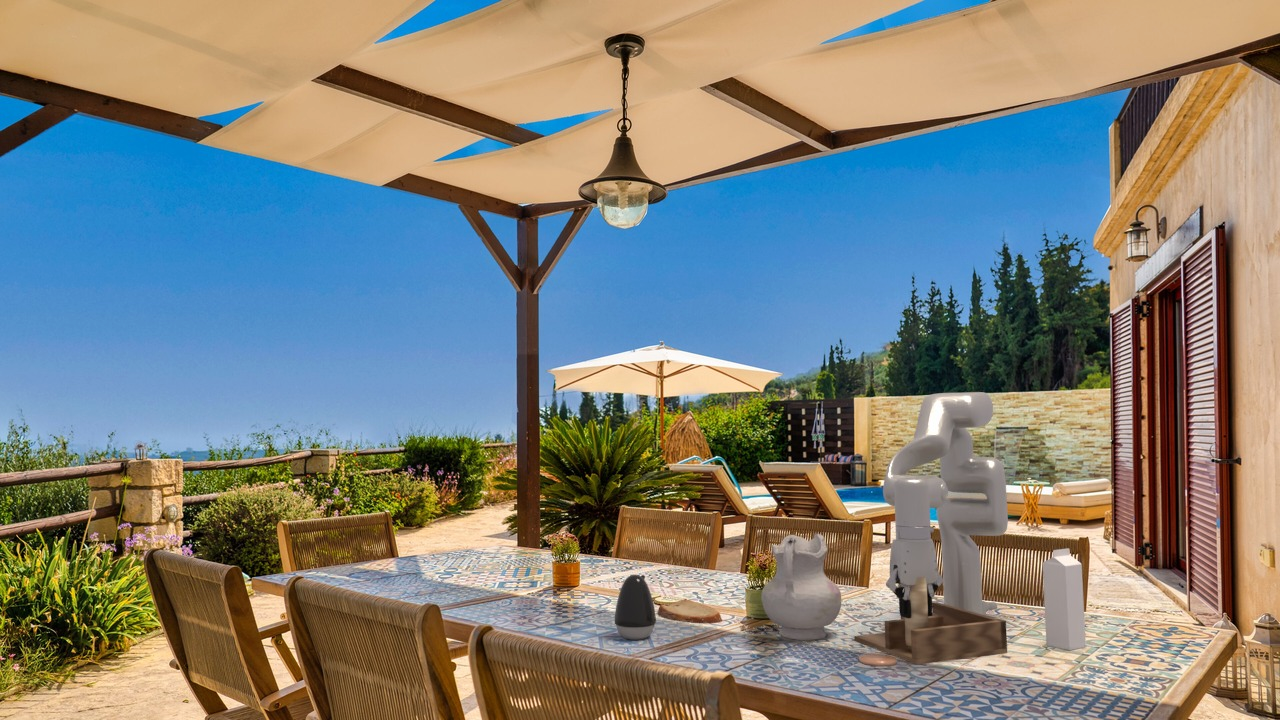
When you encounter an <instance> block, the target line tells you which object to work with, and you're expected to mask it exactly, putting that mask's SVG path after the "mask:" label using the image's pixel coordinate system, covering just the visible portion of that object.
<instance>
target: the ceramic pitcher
mask: <svg viewBox="0 0 1280 720" xmlns="http://www.w3.org/2000/svg"><path fill="white" fill-rule="evenodd" d="M826 544H827V542H826V537H824V536H823V534H820V533H816V532H814V534H813V538H812V539H810V540H807V539H806V538H804V537H803V536H797V535H795V534H789V535H786V536H784V538H783V539H782V541H781V542H780V544H779V545H777V544H772V546H771V551H772V552H771V553H772V554H773V557H774V559H775V561H776V573H775V575H774V576H773V577H772V578H771V579H770V580H769V581H768V582H766V584H765V585H764V587H763V588H762V591H761V594H760V595H761V603H762V607H763V609H764V612H765V614H766V616H767V617H768V618H769V620H770V621H771V622H772V623H774V624H776V625H778V626H781V627H782V628H781V629H779V632H778V633H777V634H778V635H780V636H781V637H783V638H785V639H788V640H796V641H797V640H798V641H812V640H823V639H824V638H825V637H826V636H827V633H826V631H825V629H824V628H825V627H827V626H830V625H831V624H832V623H834V621H836V619H837V618H838V616H839V614H840V612H841V608H842V593H841V590H840V588H839V586H838V585H837V584H836V583H835V582H833V581H832V580H831V579H829V577H827V575H826V574H825V572H824V571H825V570H824V564H825V563H824V562H825V560H826V556H827V553H828V550H829V549H828V547H827V545H826Z"/></svg>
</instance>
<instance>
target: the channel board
mask: <svg viewBox="0 0 1280 720" xmlns="http://www.w3.org/2000/svg"><path fill="white" fill-rule="evenodd" d="M1007 639H1008V638H1007V621H1006V620H1003V619H999V618H997V617H996V618H995V617H992V616H990V615H989V616H986V615H982V614H978V613H975V612H971V611H967V610H964V609H960V608H957V607H953V606H949V605H946V604H944V603H942V602H939V601H936V602H935V601H934V602H932V616H928V628H923V629H914V630H911V645H912V647H911V646H908V645H906V641H905V617H902V616H900V619H893V620H884V632H878V633H869V634H860V635H853V640H854V641H855V642H857V643H860V644H862V645H866V646H868V647H871V648H873V649H876V650H878V651H879V652H883V653H886V654H887V655H890V656H893V657H895V658H899V659H902V660H904V661H906V662H909V663H911V664H914V665H924V664H930V663H931V664H932V663H940V662H946V661H947V662H948V661H954V660H962V659H970V658H977V657H978V658H979V657H985V656H993V655H994V656H995V655H1002V654H1007V653H1008V640H1007Z"/></svg>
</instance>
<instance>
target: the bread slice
mask: <svg viewBox="0 0 1280 720" xmlns="http://www.w3.org/2000/svg"><path fill="white" fill-rule="evenodd" d="M657 613H658V615H659V616H660V617H661V618H664V619H667V620H671V621H677V622H683V623H688V624H689V623H691V624H717V623H718V624H719V623H721V622H723V619H722V616H721V614H720V612H719V610H717V609H715V608H712V607H711V606H708V605H706V604H703V603H699V602H697V601H693V600H690V599H688V598H684V599H680V600H677V601H675V602H673V603H670V604H668V605H665V604H660V605H659V607H658V610H657Z"/></svg>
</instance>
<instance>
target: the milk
mask: <svg viewBox="0 0 1280 720" xmlns="http://www.w3.org/2000/svg"><path fill="white" fill-rule="evenodd" d="M1070 550H1071V549H1070V548H1068V547H1067V548H1062V549H1061V548H1060V549H1053V551H1052V557H1051V558H1049V559H1047V560H1045V561H1043V562H1042V577H1043V578H1042V580H1043V582H1042V583H1043V600H1044V622H1045V638H1046V639H1045V640H1046V641H1045V642H1046V643H1045V645H1046V646H1049V647H1052V648H1057V649H1061V650H1065V651H1074V650H1079V649H1084V648H1086V647H1087V645H1086V644H1087V643H1086V640H1087V639H1086V625H1085V621H1086V620H1085V606H1084V605H1085V604H1084V586H1083V585H1084V583H1083V567H1082V566H1083V565H1082V563H1081V562H1080V561H1078V560H1077V559H1076V558H1074V557H1073V556H1072V555H1071V553H1070Z"/></svg>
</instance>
